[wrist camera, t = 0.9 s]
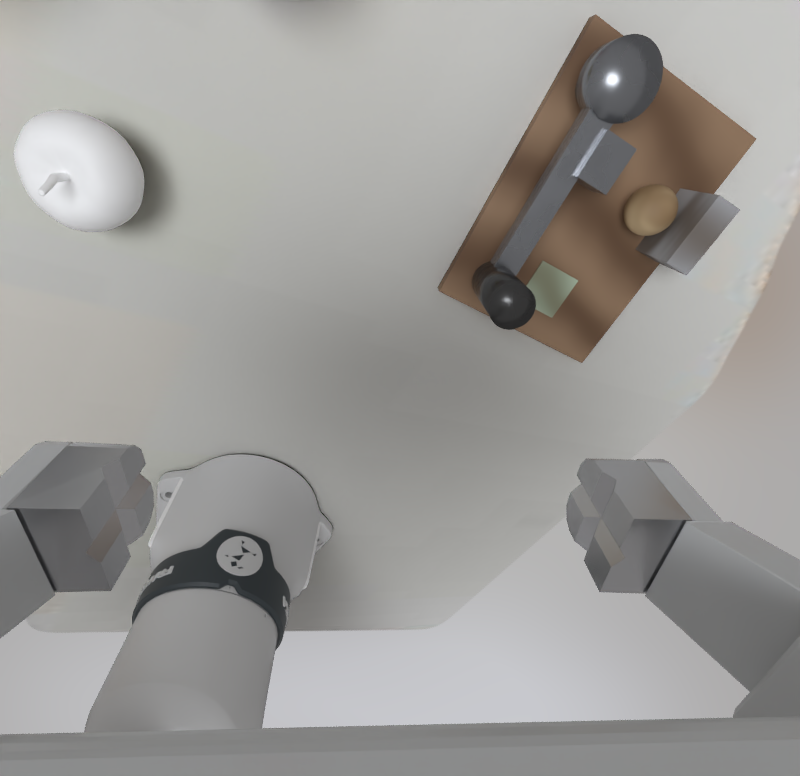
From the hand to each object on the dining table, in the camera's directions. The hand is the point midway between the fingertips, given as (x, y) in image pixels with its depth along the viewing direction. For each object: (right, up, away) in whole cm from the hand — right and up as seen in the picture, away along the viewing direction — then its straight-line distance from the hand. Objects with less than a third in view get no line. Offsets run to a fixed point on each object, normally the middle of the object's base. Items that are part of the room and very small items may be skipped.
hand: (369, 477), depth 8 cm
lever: (+11, +16, +23) cm, 30 cm away
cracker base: (+15, +15, +27) cm, 34 cm away
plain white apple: (-20, +17, +24) cm, 36 cm away
